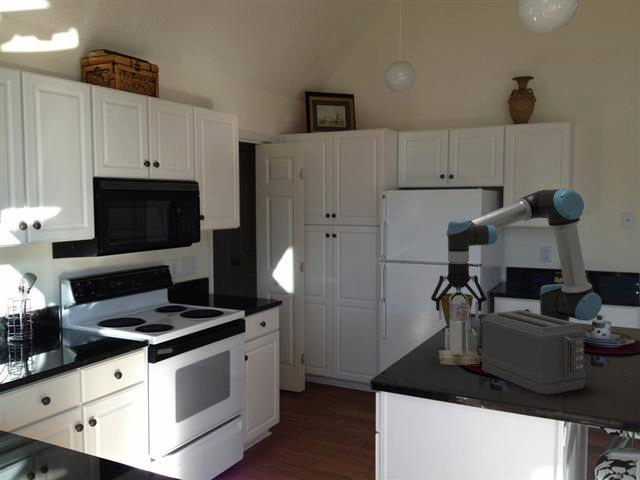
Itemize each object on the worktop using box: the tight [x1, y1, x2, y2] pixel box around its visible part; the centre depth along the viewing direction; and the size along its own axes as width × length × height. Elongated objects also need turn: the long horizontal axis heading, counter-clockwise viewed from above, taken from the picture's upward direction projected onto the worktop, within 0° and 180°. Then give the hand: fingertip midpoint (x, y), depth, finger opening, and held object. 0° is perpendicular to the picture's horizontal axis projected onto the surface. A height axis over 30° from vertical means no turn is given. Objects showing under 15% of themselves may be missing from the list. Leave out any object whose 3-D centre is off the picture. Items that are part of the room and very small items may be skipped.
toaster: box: [479, 309, 587, 395], centre depth 196 cm, size 19×34×20 cm, turn 22°
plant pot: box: [440, 292, 474, 328], centre depth 271 cm, size 15×15×16 cm
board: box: [438, 349, 481, 366], centre depth 219 cm, size 14×11×2 cm
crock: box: [444, 327, 478, 352], centre depth 233 cm, size 11×11×8 cm
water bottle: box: [449, 287, 468, 356], centre depth 218 cm, size 7×7×25 cm
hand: (458, 319), depth 218 cm, fingers open, 13 cm apart
